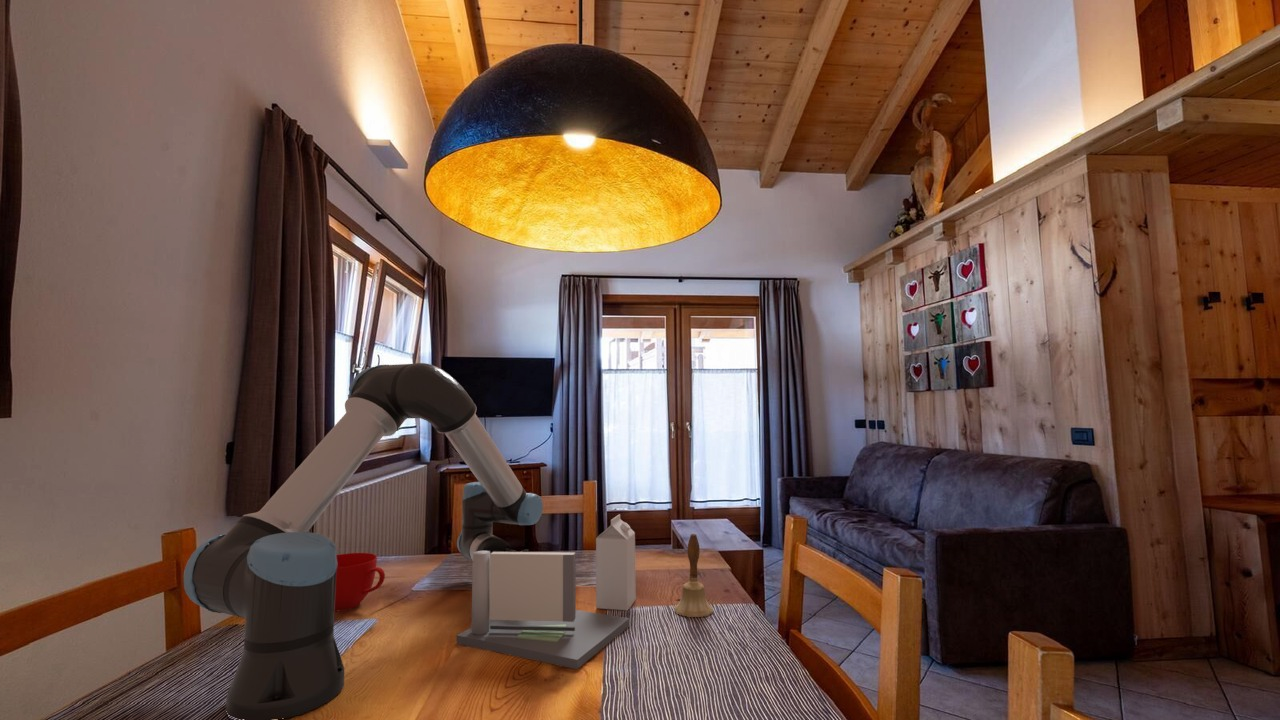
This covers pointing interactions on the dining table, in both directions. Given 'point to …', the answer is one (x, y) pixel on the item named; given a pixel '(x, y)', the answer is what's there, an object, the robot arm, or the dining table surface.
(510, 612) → the hinged door panel
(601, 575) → the milk carton
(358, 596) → the ceramic cup
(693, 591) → the hand bell
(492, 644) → the grey flat slab
